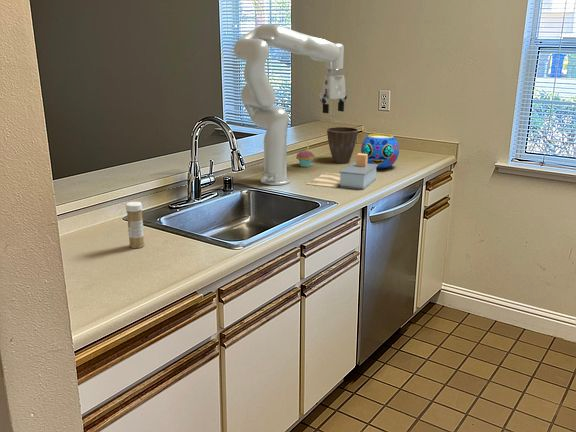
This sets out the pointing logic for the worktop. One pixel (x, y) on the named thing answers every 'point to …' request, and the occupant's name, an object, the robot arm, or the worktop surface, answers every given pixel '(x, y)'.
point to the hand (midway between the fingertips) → (333, 112)
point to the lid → (359, 166)
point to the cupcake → (305, 157)
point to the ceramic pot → (380, 149)
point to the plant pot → (342, 143)
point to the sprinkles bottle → (135, 224)
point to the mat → (326, 180)
